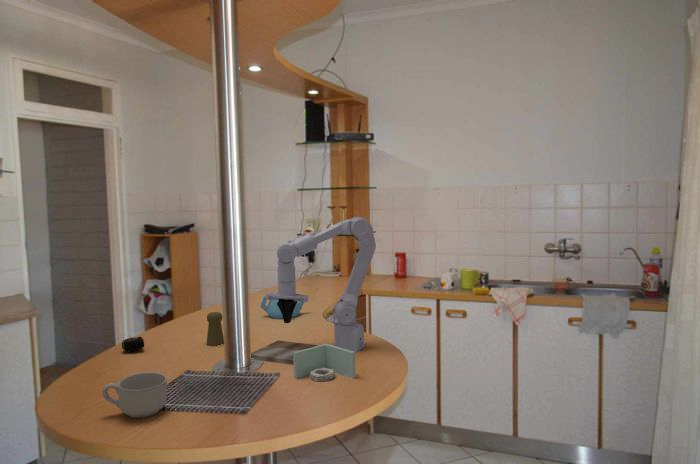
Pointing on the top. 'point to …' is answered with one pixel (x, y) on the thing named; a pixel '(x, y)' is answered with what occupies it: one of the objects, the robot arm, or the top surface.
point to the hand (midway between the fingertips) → (287, 322)
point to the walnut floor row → (291, 345)
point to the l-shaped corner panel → (324, 362)
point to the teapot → (274, 309)
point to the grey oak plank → (275, 354)
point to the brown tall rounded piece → (214, 329)
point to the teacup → (139, 394)
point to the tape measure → (132, 343)
